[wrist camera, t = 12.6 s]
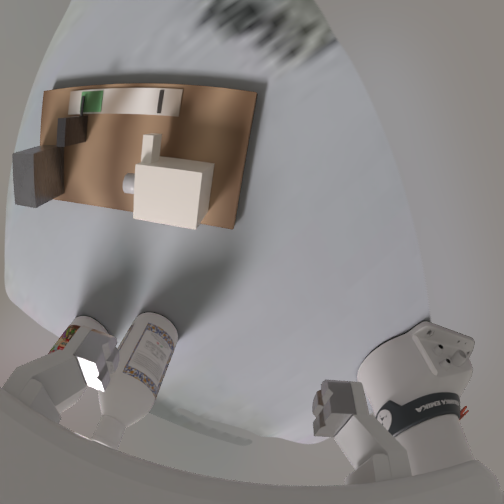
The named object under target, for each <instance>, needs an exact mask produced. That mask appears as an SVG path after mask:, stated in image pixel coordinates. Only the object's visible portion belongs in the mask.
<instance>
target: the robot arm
mask: <svg viewBox="0 0 504 504" xmlns="http://www.w3.org/2000/svg"><path fill="white" fill-rule="evenodd" d="M474 344H475V342H474V340H473V338H471V337H469V336H466V335H463V334H461V333H458V332H455V331H452V330H449V329H447V328H444V327H442V326H439V325H436V324H433V323H431V322H428V321H424V322H422V323H420V324H418V325H417V326H415V327H414V328H413V329H411V330H410V331H409V332H407V333H406V334H403V335H401V336H399V337H396V338H394V339H391V340H389V341H388V342H386V343H384V344H382V345H381V346H379V347H378V348H376V349H375V350H374V351H373V352H372V353H370V354H369V355H368V356H367V357H366V359H365V360H364V361H363V362H362V364H361V366H360V368H359V370H358V374H357V380H358V382H351V381H349V382H348V381H338V380H324V381H323V382H322V384H321V390H319V391H317V393H316V395H315V396H314V400H313V406H312V411H313V414H314V415H315V417H316V419H315V420H314V422H313V428H314V436H322V437H334V439H335V440H336V442H337V444H338V445H339V446H340V448H341V450H342V451H343V453H344V454H345V456H346V457H347V458H348V460H349V461H350V463H351V464H352V466H353V467H354V468H355V470H354V471H353V472H352V473H351V474H349V475H348V476H347V477H345V478H344V482H345V485H334V486H290V485H289V486H288V485H271V484H260V483H251V482H242V481H235V480H228V479H222V478H216V477H211V476H206V475H200V474H196V473H191V472H187V471H183V470H179V469H175V468H171V467H167V466H164V465H160V464H157V463H153V462H150V461H147V460H144V459H141V458H138V457H135V456H132V455H129V454H126V453H124V452H121V451H118V450H116V449H113V448H110V447H108V446H106V445H103V444H101V443H98V442H96V441H94V440H91V439H89V438H87V437H85V436H83V435H80V434H78V433H76V432H74V431H72V430H70V429H68V428H66V427H64V426H62V425H60V424H59V422H60V420H61V416H60V414H59V412H58V410H57V409H56V407H55V406H57V405H58V404H60V403H61V402H63V401H64V400H66V399H68V398H69V397H71V396H72V395H74V394H75V393H77V392H79V391H80V390H82V389H83V388H85V387H86V386H87V385H88V386H90V387H93V388H95V389H98V390H101V391H104V392H105V390H106V388H107V386H108V384H109V382H110V380H111V379H110V374H112V373H114V372H115V371H116V369H117V367H118V364H119V360H120V354H119V350H118V349H117V348H116V347H115V346H116V345H117V339H116V337H114V336H112V335H109V334H106V333H104V332H101V331H98V330H96V329H93V328H90V327H87V326H85V325H83V326H81V327H80V328H79V329H78V330H77V332H76V333H75V334H74V336H73V337H72V338H71V340H70V341H69V342H68V344H67V345H66V346H65V348H64V349H63V350H60V349H59V350H57V351H55V352H52V353H50V354H48V355H45V356H43V357H41V358H38V359H36V360H33V361H31V362H29V363H26V364H24V365H22V366H19V367H17V368H16V369H15V370H14V372H13V373H12V374H11V376H10V377H9V379H8V380H7V382H6V383H5V384H4V386H3V387H2V388H1V387H0V504H504V491H502V490H501V489H500V486H499V482H498V479H497V477H496V475H495V474H494V473H493V472H492V471H491V470H490V469H489V468H488V467H487V466H485V465H484V464H483V463H481V462H480V461H479V460H475V459H474V457H473V454H472V452H471V449H470V447H469V444H468V441H467V439H466V436H465V433H464V431H463V428H462V426H461V423H460V421H459V420H460V419H461V418H462V417H463V416H464V415H465V414H466V413H467V412H468V411H469V410H467V411H466V412H465V413H464V414H463V412H464V411H465V409H466V408H467V406H465V407H464V408H463V409H462V410H461V411H460V397H461V395H462V393H463V392H464V390H465V388H466V386H467V385H468V383H469V381H470V379H471V377H472V373H473V367H472V364H471V361H470V360H469V357H470V355H471V353H472V351H473V348H474ZM364 392H365V393H364ZM365 394H366V396H367V398H368V400H369V402H370V404H371V406H372V409H373V411H374V414H375V416H376V418H375V417H374V416H373V415H369V411H368V406H367V402H366V398H365ZM462 414H463V415H462Z"/></svg>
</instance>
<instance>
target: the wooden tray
mask: <svg viewBox="0 0 504 504" xmlns="http://www.w3.org/2000/svg"><path fill="white" fill-rule="evenodd" d="M82 96H85V102H84V111H83V116H88V122H87V135H86V142H83V143H78V144H74V145H70V146H66V147H64V194H62V195H60V196H58V197H56V198H54V199H55V200H62V201H68V202H75V203H81V204H87V205H94V206H100V207H106V208H112V209H119V210H125V211H131V212H133V210H134V194H129V193H124V191H123V180H124V177H125V175H126V174H127V173H135V164H138V163H140V162H141V154H142V143H143V135H144V134H150V133H157V134H162V138H161V147H160V156H162V157H170V158H179V159H186V160H194V161H201V162H208V163H215V164H214V171H213V178H212V185H211V193H210V200H209V208H208V212H207V214H206V215H205V217H204V218H203V220H202V221H201V223H200V224H206V225H211V226H217V227H222V228H228V229H233V228H234V225H235V220H236V214H237V208H238V202H239V196H240V190H241V184H242V178H243V172H244V166H245V160H246V155H247V149H248V143H249V138H250V132H251V127H252V121H253V116H254V110H255V105H256V99H257V92H250V91H243V90H236V89H228V88H219V87H209V86H198V85H183V84H156V83H131V84H105V85H91V86H80V87H70V88H62V89H55V90H48V91H44V95H43V105H42V117H41V134H40V146H41V145H57V125H58V118H65V117H73V116H80V111H81V101H82Z"/></svg>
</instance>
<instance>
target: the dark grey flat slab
mask: <svg viewBox="0 0 504 504" xmlns="http://www.w3.org/2000/svg"><path fill="white" fill-rule="evenodd" d="M84 102H85V96H82V101H81V111H80V116H73V117H65V118H58V125H57V147H66V146H70V145H74V144H78V143H83V142H86V135H87V122H88V116H83V111H84Z"/></svg>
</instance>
